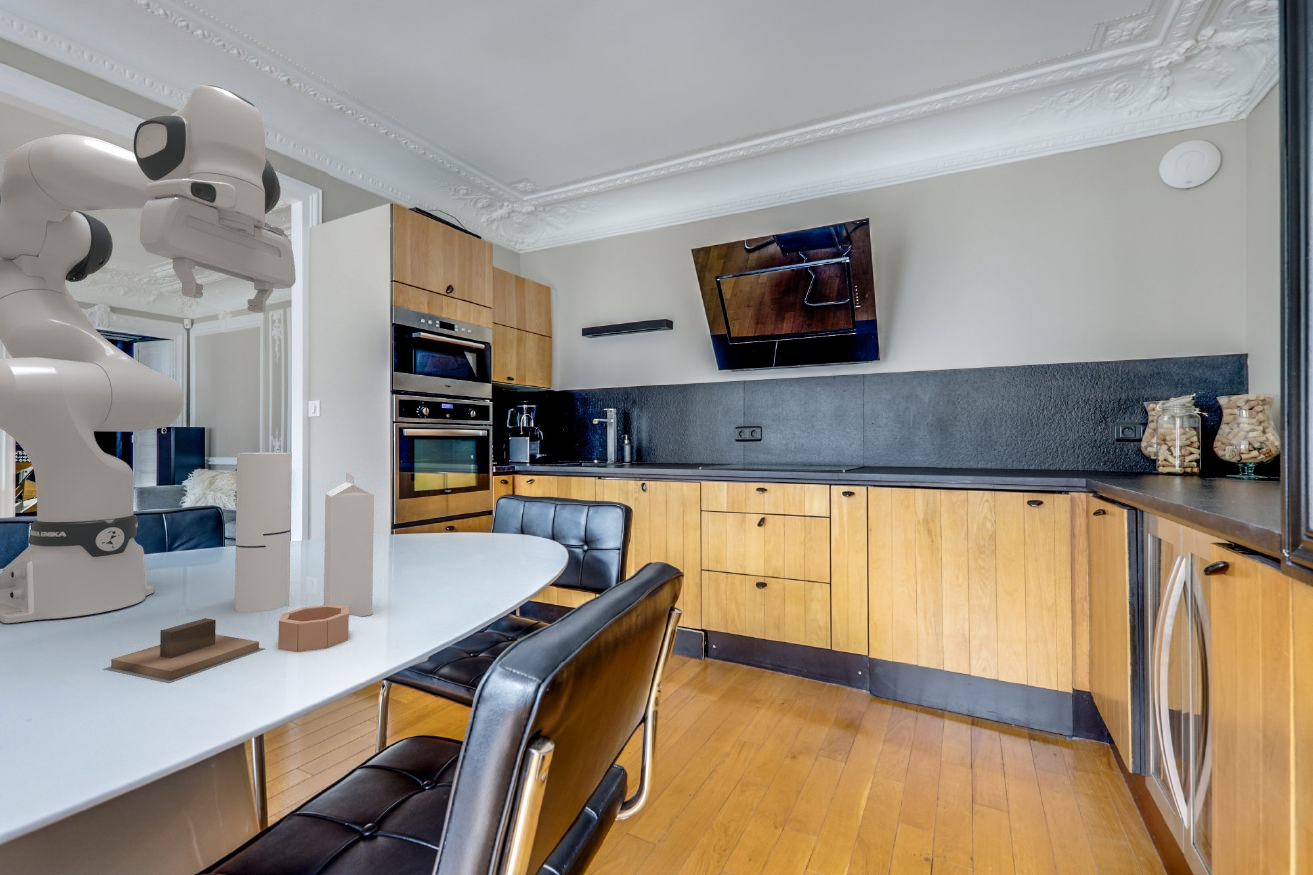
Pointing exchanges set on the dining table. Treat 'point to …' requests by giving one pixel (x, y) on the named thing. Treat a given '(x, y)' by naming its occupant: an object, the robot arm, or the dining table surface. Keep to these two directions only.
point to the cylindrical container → (263, 531)
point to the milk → (349, 548)
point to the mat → (179, 677)
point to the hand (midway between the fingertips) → (226, 304)
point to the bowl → (313, 628)
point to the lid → (185, 651)
